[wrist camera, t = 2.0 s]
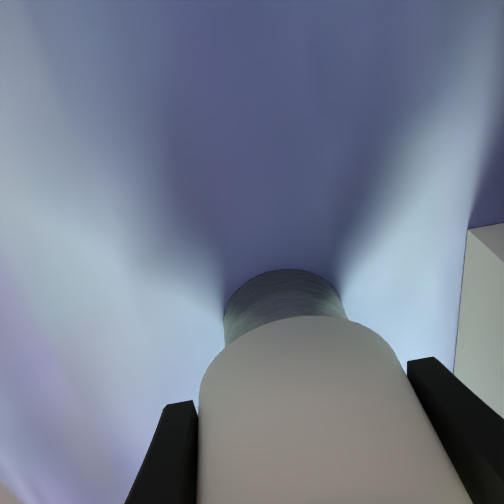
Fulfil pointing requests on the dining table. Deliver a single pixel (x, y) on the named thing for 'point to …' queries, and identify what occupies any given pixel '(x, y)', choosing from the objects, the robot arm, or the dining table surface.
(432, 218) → the dining table surface
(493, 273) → the box
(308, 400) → the cream cylinder
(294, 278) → the stand
